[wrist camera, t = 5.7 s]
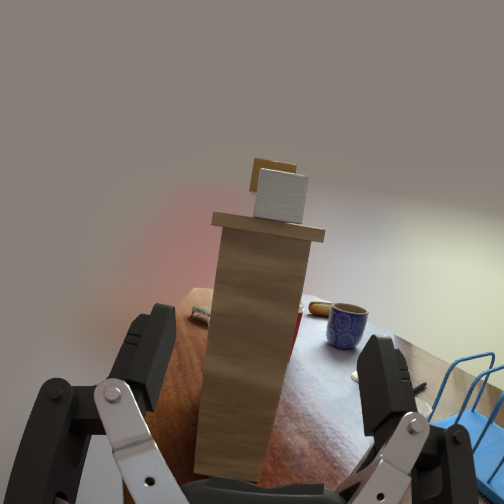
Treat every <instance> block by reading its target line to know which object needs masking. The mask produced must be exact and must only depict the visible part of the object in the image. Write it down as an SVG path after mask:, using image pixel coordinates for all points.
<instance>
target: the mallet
mask: <svg viewBox="0 0 504 504" xmlns="http://www.w3.org/2000/svg"><path fill="white" fill-rule="evenodd" d="M296 166H297V165H294V164H288V163H283V162H277V161H270V160H264V159H257V158H254V164H253V170H252V176H251V183H250V189H249V192H250V195H256V200H255V206H254V213H253V217H254V218H259V219H265V220H271V221H278V222H284V223H292V224H302V219H303V212H304V206H305V199H306V193H307V185H308V179H309V177H308V176H304V175H298V174H296Z"/></svg>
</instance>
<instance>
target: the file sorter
mask: <svg viewBox="0 0 504 504" xmlns="http://www.w3.org/2000/svg"><path fill="white" fill-rule="evenodd" d="M488 355H492V361H491V365H490V367H489V370H486V371H483V372H482V373H480V374H479V375H478V377H477V378H476V379H475V380H474V382H473V383H472V385H471V387H470V389H469V391H468V394H467V396H466V398H465V401H464V403H463V405H462V407H461V410H460V412H459V413H458V414H455V415H452V416H450V417H447V418H444V419H441V420H439V421H436V422H433V423H430V425H433V426H437V427H441V428H445V429H447V428H448V427H449V426H451V425H453V424H461V425H463V426H464V427H465V428H466V429H467V430H468V432H469V435H470V439H471V445H472V451H473V457H474V464H475V472H476V480H477V489H478V490H479V491H480V492H481V493H482V494H483V495H485V496H486V497H487V498H488V499H489V500H490V501H492V502H493V503H494V504H504V429H503V428H501V427H500V426H498V425H497V424H495V423H494V422H493V421H494V419H495V417H496V415H497V413H498V411H499V408H500V406H501V404H502V402H503V400H504V392H503V393H502V395H501V396H500V398H499V399H498V401H497V403H496V405H495V407H494V409H493V411H492V413H491V415H490V417H489V419H487V418H486V417H485V416H483V415H482V414H480V413H479V412H477V411H476V410H474V409H475V407H476V405H477V403H478V401H479V399H480V397H481V394H482V392H483V390H484V387H485V385H486V382H487V380H488V377H489V375H490V373H492V372H495V371H498V370H501V369H504V365H501V366H498V367H495V368H492V367H493V364H494V361H495V355H494V353H493V352H486V353H482V354H477V355H472V356H467V357H463V358H459V359H457V360H456V361H455V362H453V363H452V365H451V366H450V367H449V369H448V371H447V373H446V375H445V377H444V380H443V382H442V385H441V387H440V390H439V392H438V395H437V397H436V400H435V402H434V404H433V407H432V410H433V411H432V413H431V414H430V416H429V418H428V419H427V421H428V423H429V422H430V420H431V418H432V415H433V413H434V411H435V409H436V406H437V404H438V402H439V399H440V397H441V394H442V392H443V389H444V387H445V384H446V382H447V379H448V377H449V375H450V372H451V371H452V369H453V368H454V367H455V366H456V365H457V364H458V363H459V362H462V361H466V360H471V359H475V358H479V357H484V356H488ZM486 374H487V375H486ZM484 375H486V378H485V380H484V383H483V385H482V388H481V390H480V392H479V394H478V397H477V399H476V401H475V403H474V406H473V408H470V409H468V410H465V408H466V405H467V403H468V400H469V398H470V396H471V394H472V391H473V389H474V387H475V385H476V384H477V382H478V381H479V380H480V379H481V378H482V377H483V376H484ZM464 410H465V411H464Z"/></svg>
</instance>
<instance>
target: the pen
mask: <svg viewBox="0 0 504 504" xmlns="http://www.w3.org/2000/svg"><path fill="white" fill-rule="evenodd" d="M426 384H427V383H422V384H421V385H419V386H417V387H416V388H414V389H413V392H414V393H415V392H417V391H419V390H420V389H422V388H423V387H425V386H426Z"/></svg>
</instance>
